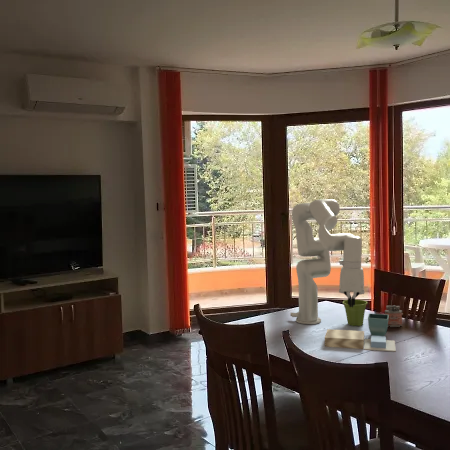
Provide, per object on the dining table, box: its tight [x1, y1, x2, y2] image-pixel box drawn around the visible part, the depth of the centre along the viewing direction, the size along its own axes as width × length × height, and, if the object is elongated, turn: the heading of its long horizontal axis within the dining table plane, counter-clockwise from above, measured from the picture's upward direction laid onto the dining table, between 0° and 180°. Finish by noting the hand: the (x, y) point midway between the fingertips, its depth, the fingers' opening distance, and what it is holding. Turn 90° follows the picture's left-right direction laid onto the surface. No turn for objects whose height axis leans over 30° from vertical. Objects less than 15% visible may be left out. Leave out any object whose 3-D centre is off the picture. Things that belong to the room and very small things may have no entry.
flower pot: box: [367, 313, 389, 336], centre depth 232 cm, size 9×9×9 cm
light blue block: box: [370, 334, 387, 348], centre depth 217 cm, size 6×9×2 cm, turn 163°
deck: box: [324, 328, 365, 350], centre depth 221 cm, size 16×13×4 cm
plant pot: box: [342, 298, 368, 327], centre depth 251 cm, size 12×12×11 cm
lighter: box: [384, 304, 403, 328], centre depth 247 cm, size 8×3×10 cm, turn 84°
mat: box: [363, 338, 397, 352], centre depth 217 cm, size 12×14×1 cm
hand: (351, 306), depth 220 cm, fingers closed
